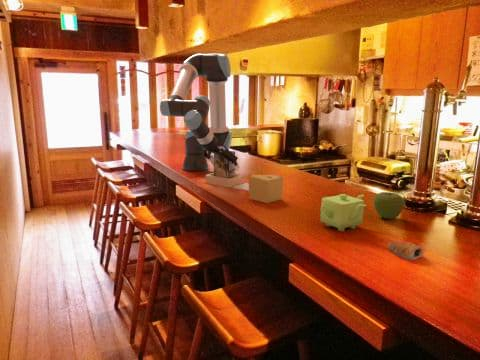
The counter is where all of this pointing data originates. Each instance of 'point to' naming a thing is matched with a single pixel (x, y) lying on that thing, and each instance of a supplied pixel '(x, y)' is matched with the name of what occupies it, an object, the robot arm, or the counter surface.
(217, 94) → the robot arm
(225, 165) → the coffee box
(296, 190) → the counter surface
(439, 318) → the counter surface
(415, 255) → the grey tapered shell
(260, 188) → the cheese
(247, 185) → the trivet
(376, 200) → the apple
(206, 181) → the tray
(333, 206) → the kettle
